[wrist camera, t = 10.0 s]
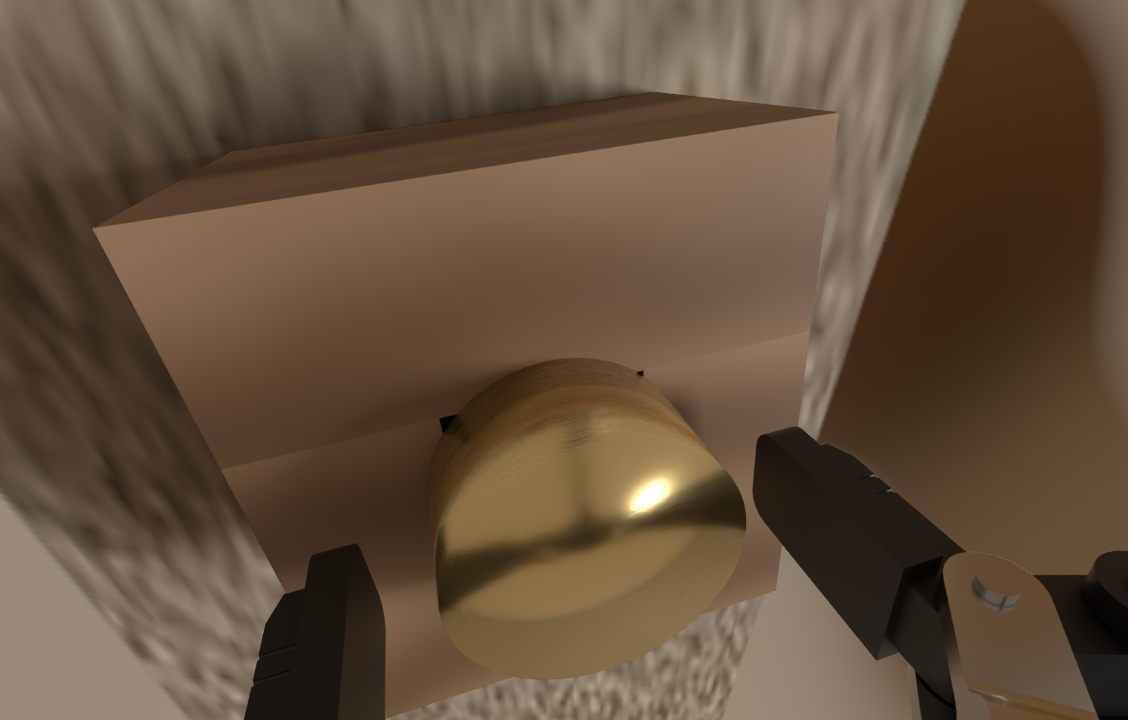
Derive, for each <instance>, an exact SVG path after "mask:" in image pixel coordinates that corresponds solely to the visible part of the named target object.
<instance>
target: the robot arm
mask: <svg viewBox="0 0 1128 720" xmlns="http://www.w3.org/2000/svg"><path fill="white" fill-rule="evenodd" d="M874 475H875V474H874V473H873V472H871V471H870V470H869V469H868V468H867V467H866V466H864V465H863V464H862V463H861V462H859V460H857V459H856V458H855V457H854V456H852V455H850V454H848V453H845V452H843V451H841V450H839V449H837V448H835V447H833V446H831V445H829V444H825V445H819V444H818V443H817V442H816V441H815V440H814V439H813V438H812V437H810V436H809V435H808V434H807V433H806V432H805V431H804V430H802V429H801V428H799V427H796V426H793V427H789V428H785V429H782V430H778V431H774V432H770V433H767V434H763V435H761V436H759V438H758V440H757V444H756V454H755V465H754V476H753V487H752V494H753V500H754V504H755V507H756V509H757V511H758V513H759V515H760V517H761V519H762V520H763V521H764V523H765V524H766V525H767V526H768V528H769V529H770V530H771V531H772V532H773V534H774V535H775V536H776V537H777V539H778V540H779V541H780V542H781V544H782V545H783V546H784V547H785V548H786V550H787V551H788V552H789V553H790V555H791V556H792V557H793V558H794V560H795V561H796V562H797V563H798V564H799V566H800V567H801V568H802V569H803V571H804V572H805V573H806V574H807V575H808V577H809V578H810V579H811V580H812V582H813V583H814V584H815V585H816V587H817V588H818V589H819V590H820V591H821V593H822V594H823V595H824V596H825V598H826V599H827V600H828V601H829V603H830V604H831V605H832V606H833V608H834V609H835V610H836V611H837V612H838V614H839V615H840V616H841V617H842V619H843V620H844V621H845V622H846V624H847V625H848V626H849V627H850V629H851V630H852V631H853V632H854V633H855V635H856V636H857V637H858V638H859V640H860V641H861V642H862V643H863V644H864V646H865V647H866V648H867V649H868V651H869V652H870V653H871V654H872V656H873V657H874V658H875V659H876V660H880V659H882V658H885V657H888V656H890V655H893V654H896V653H899V652H900V654H901V655H902V656H903V657H904V658H905V659H906V660H907V662H908V663H909V667H908V672H907V678H908V686H909V694H910V702H911V710H912V718H913V720H1128V551H1112V552H1107V553H1105V554H1102V555H1101V556H1099V557H1098V558H1097V559H1096V561H1095V563H1094V565H1093V566H1092V568H1091V570H1090V572H1089V574H1088V575H1032V574H1031V573H1029V572H1028V571H1026V570H1025V569H1023V568H1022V567H1020V566H1018V565H1016V564H1014V563H1013V562H1010V561H1008V560H1006V559H1004V558H1000V557H998V556H995V555H991V554H987V553H981V552H966V551H965V550H963V549H962V548H961V547H959V546H958V545H957V544H956V543H955V542H954V541H952V540H951V539H950V538H949V537H948V536H947V535H945V534H944V533H943V532H942V531H941V530H940V529H938V528H937V527H936V526H935V525H934V524H933V523H931V522H930V521H929V520H928V519H927V518H925V517H924V516H923V515H922V514H921V513H920V512H918V511H917V510H916V509H915V508H914V507H912V506H911V505H910V504H909V503H908V502H907V501H905V500H904V499H903V498H902V497H901V496H900V495H898V494H897V493H893V492H892V489H891V488H890V487H889V486H888V485H887V484H886V483H884V482H883V481H882V480H880V478H876V477H875V476H874ZM385 662H386V627H385V617H384V611H383V606H382V602H381V599H380V596H379V593H378V591H377V588H376V586H375V583H374V581H373V579H372V576H371V574H370V571H369V569H368V566H367V564H366V561H365V559H364V556H363V554H362V551H361V549H360V547H359V546H358V544H356V543H353V544H350V545H346V546H342V547H339V548H335V549H331V550H327V551H324V552H320V553H316V554H313V555H312V556H311V558H310V561H309V566H308V572H307V578H306V584H305V588H304V589H300V590H297V591H293V592H290V593H286V594H284V595H283V597H282V598H281V600H280V602H279V603H278V605H277V606H276V608H275V610H274V611H273V613H272V614H271V616H270V618H269V619H268V621H267V622H266V624H265V629H264V633H263V638H262V642H261V646H260V651H259V661H257V664H256V669H255V673H254V678H253V683H254V686H253V687H251V691H250V696H249V700H248V705H247V709H246V713H245V718H244V720H385Z"/></svg>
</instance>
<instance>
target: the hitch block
mask: <svg viewBox="0 0 1128 720" xmlns="http://www.w3.org/2000/svg"><path fill="white" fill-rule="evenodd" d="M838 118H839V112H832V111H823V110H814V109H805V108H796V107H786V106H777V105H768V104H759V103H750V102H741V101H732V100H723V99H714V98H705V97H696V96H687V95H678V94H669V93H660V92H655V93H648V94H641V95H634V96H626V97H619V98H612V99H605V100H597V101H590V102H583V103H576V104H569V105H561V106H554V107H547V108H540V109H532V110H525V111H518V112H511V113H503V114H496V115H489V116H482V117H475V118H467V119H460V120H453V121H446V122H438V123H431V124H424V125H417V126H409V127H402V128H395V129H388V130H381V131H373V132H366V133H359V134H352V135H344V136H337V137H330V138H323V139H316V140H308V141H301V142H294V143H287V144H279V145H272V146H265V147H258V148H250V149H243V150H236V151H231V152H230V153H228V154H226V155H224V156H222V157H220V158H219V159H217V160H215V161H213V162H211V163H210V164H208V165H206V166H204V167H202V168H201V169H199V170H197V171H195V172H193V173H192V174H190V175H188V176H186V177H184V178H183V179H181V180H179V181H177V182H175V183H174V184H172V185H170V186H168V187H166V188H164V189H163V190H161V191H159V192H157V193H155V194H154V195H152V196H150V197H148V198H146V199H145V200H143V201H141V202H139V203H137V204H136V205H134V206H132V207H130V208H128V209H127V210H125V211H123V212H121V213H119V214H118V215H116V216H114V217H112V218H110V219H109V220H107V221H105V222H103V223H101V224H99V225H98V226H96V227H94V228H92V229H93V231H94V233H95V234H96V236H97V238H98V240H99V242H100V244H101V246H102V248H103V249H104V251H105V253H106V255H107V257H108V259H109V261H110V263H111V265H112V266H113V268H114V270H115V272H116V274H117V276H118V278H119V280H120V281H121V283H122V285H123V287H124V289H125V291H126V293H127V295H128V297H129V298H130V300H131V302H132V304H133V306H134V308H135V310H136V312H137V313H138V315H139V317H140V319H141V321H142V323H143V325H144V327H145V329H146V330H147V332H148V334H149V336H150V338H151V340H152V342H153V344H154V345H155V347H156V349H157V351H158V353H159V355H160V357H161V359H162V361H163V362H164V364H165V366H166V368H167V370H168V372H169V374H170V376H171V377H172V379H173V381H174V383H175V385H176V387H177V389H178V391H179V393H180V394H181V396H182V398H183V400H184V402H185V404H186V406H187V408H188V409H189V411H190V413H191V415H192V417H193V419H194V421H195V423H196V425H197V426H198V428H199V430H200V432H201V434H202V436H203V438H204V440H205V441H206V443H207V445H208V447H209V449H210V451H211V453H212V455H213V457H214V458H215V460H216V462H217V464H218V466H219V468H220V470H221V472H222V473H223V475H224V477H225V479H226V481H227V483H228V485H229V487H230V489H231V490H232V492H233V494H234V496H235V498H236V500H237V502H238V504H239V505H240V507H241V509H242V511H243V513H244V515H245V517H246V519H247V521H248V522H249V524H250V526H251V528H252V530H253V532H254V534H255V536H256V537H257V539H258V541H259V543H260V545H261V547H262V549H263V551H264V553H265V554H266V556H267V558H268V560H269V562H270V564H271V566H272V568H273V569H274V571H275V573H276V575H277V577H278V579H279V581H280V583H281V585H282V586H283V588H284V590H285V592H286V593H290V592H293V591H297V590H300V589H304V588H305V584H306V578H307V572H308V566H309V561H310V558H311V556H312V555H313V554H316V553H320V552H324V551H327V550H331V549H335V548H339V547H342V546H346V545H350V544H353V543H356V544H358V546H359V547H360V549H361V551H362V554H363V556H364V559H365V561H366V564H367V566H368V569H369V571H370V574H371V576H372V579H373V581H374V583H375V586H376V588H377V591H378V593H379V596H380V599H381V602H382V606H383V611H384V617H385V627H386V662H385V719H386V718H389V717H392V716H395V715H398V714H401V713H404V712H407V711H410V710H413V709H417V708H420V707H423V706H426V705H429V704H432V703H435V702H438V701H441V700H444V699H447V698H450V697H453V696H456V695H459V694H462V693H465V692H468V691H471V690H474V689H477V688H480V687H483V686H486V685H489V684H493V683H496V682H499V681H502V680H505V679H508V678H511V676H507V675H503V674H500V673H497V672H493V671H491V670H489V669H487V668H484V667H482V666H480V665H478V664H477V663H475V662H474V661H472V660H471V659H469V658H468V657H466V656H465V655H464V654H463V653H462V652H461V651H460V650H459V649H458V648H457V647H456V646H455V645H454V643H453V642H452V641H451V639H450V638H449V637H448V635H447V633H446V631H445V628H444V626H443V624H442V621H441V617H440V612H439V608H438V597H437V585H436V574H435V562H434V551H433V539H432V528H431V516H430V505H429V492H428V477H429V470H430V464H431V460H432V457H433V454H434V451H435V448H436V446H437V444H438V442H439V440H440V438H441V436H442V434H443V432H444V431H445V429H446V428H447V426H448V425H449V423H450V422H451V420H452V419H453V418H454V417H455V416H456V415H457V413H458V412H459V411H460V410H461V409H462V408H463V407H464V406H465V405H466V404H467V403H468V402H469V401H470V400H471V399H473V398H474V397H475V396H476V395H477V394H478V393H480V392H481V391H483V390H484V389H485V388H487V387H488V386H490V385H491V384H492V383H494V382H496V381H498V380H500V379H502V378H503V377H505V376H507V375H509V374H511V373H513V372H516V371H518V370H521V369H523V368H526V367H529V366H532V365H536V364H539V363H543V362H547V361H553V360H559V359H568V358H589V359H600V360H605V361H609V362H614V363H617V364H620V365H623V366H625V367H628V368H630V369H632V370H634V371H636V372H638V373H640V374H641V375H643V376H644V377H646V378H647V379H648V380H650V381H651V382H652V383H653V384H654V385H655V386H656V387H657V388H658V389H659V390H660V391H661V392H662V393H663V394H664V396H665V397H666V398H667V399H668V400H669V402H670V403H671V404H672V405H673V407H674V408H675V409H676V410H677V411H678V413H679V414H680V415H681V416H682V418H683V419H684V420H685V421H686V422H687V424H688V425H689V426H690V427H691V428H692V430H693V431H694V432H695V433H696V435H697V436H698V437H699V438H700V439H701V441H702V442H703V443H704V444H705V446H706V447H707V448H708V449H709V450H710V452H711V453H712V454H713V455H714V456H715V458H716V459H717V460H718V461H719V463H720V464H721V465H722V466H723V467H724V469H725V470H726V471H727V472H728V474H729V475H730V476H731V477H732V479H733V480H734V482H735V484H736V485H737V487H738V488H739V490H740V493H741V496H742V498H743V501H744V505H745V511H746V534H745V540H744V545H743V549H742V552H741V555H740V558H739V560H738V562H737V565H736V567H735V569H734V571H733V573H732V575H731V576H730V578H729V580H728V581H727V583H726V585H725V586H724V588H723V589H722V590H721V592H720V593H719V594H718V596H717V597H716V598H715V599H714V601H713V602H712V603H711V604H710V605H709V606H708V607H707V608H706V609H705V610H704V612H703V613H701V614H700V615H702V614H705V613H708V612H711V611H715V610H718V609H721V608H724V607H727V606H730V605H733V604H736V603H739V602H742V601H745V600H748V599H751V598H754V597H757V596H760V595H763V594H766V593H769V592H772V591H775V590H776V584H777V576H778V569H779V561H780V554H781V547H782V544H781V542H780V541H779V540H778V539H777V537H776V536H775V535H774V534H773V532H772V531H771V530H770V529H769V528H768V526H767V525H766V524H765V523H764V521H763V520H762V519H761V517H760V515H759V513H758V511H757V509H756V507H755V504H754V500H753V494H752V487H753V476H754V465H755V454H756V444H757V440H758V438H759V436H761V435H763V434H767V433H770V432H774V431H778V430H782V429H785V428H789V427H793V426H796V427H797V426H798V419H799V411H800V404H801V396H802V389H803V381H804V374H805V366H806V359H807V351H808V344H809V336H810V329H811V321H812V313H813V306H814V298H815V291H816V283H817V276H818V268H819V261H820V253H821V246H822V238H823V231H824V223H825V216H826V208H827V201H828V193H829V186H830V178H831V171H832V163H833V156H834V148H835V141H836V133H837V126H838Z"/></svg>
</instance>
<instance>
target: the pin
mask: <svg viewBox="0 0 1128 720" xmlns="http://www.w3.org/2000/svg"><path fill="white" fill-rule="evenodd" d="M428 492H429V505H430V516H431V528H432V539H433V551H434V562H435V574H436V585H437V597H438V608H439V612H440V617H441V621H442V624H443V626H444V628H445V631H446V633H447V635H448V637H449V638H450V639H451V641H452V642H453V643H454V645H455V646H456V647H457V648H458V649H459V650H460V651H461V652H462V653H463V654H464V655H465V656H466V657H468V658H469V659H471V660H472V661H474V662H475V663H477V664H478V665H480V666H482V667H484V668H487V669H489V670H491V671H493V672H497V673H500V674H503V675H507V676H511V677H517V678H523V679H537V680H548V679H564V678H572V677H578V676H583V675H588V674H593V673H596V672H600V671H603V670H607V669H610V668H613V667H616V666H618V665H621V664H623V663H626V662H629V661H631V660H633V659H635V658H637V657H639V656H641V655H644V654H646V653H647V652H649V651H651V650H653V649H655V648H656V647H658V646H660V645H662V644H663V643H665V642H666V641H668V640H669V639H671V638H672V637H674V636H675V635H677V634H678V633H679V632H680V631H682V630H683V629H684V628H686V627H687V626H688V625H689V624H691V623H692V622H693V621H694V620H695V619H696V618H697V617H698V616H699V615H700V614H701V613H703V612H704V610H705V609H706V608H707V607H708V606H709V605H710V604H711V603H712V602H713V601H714V599H715V598H716V597H717V596H718V594H719V593H720V592H721V590H722V589H723V588H724V586H725V585H726V583H727V581H728V580H729V578H730V576H731V575H732V573H733V571H734V569H735V567H736V565H737V562H738V560H739V558H740V555H741V552H742V549H743V545H744V540H745V534H746V511H745V505H744V501H743V498H742V496H741V493H740V490H739V488H738V487H737V485H736V484H735V482H734V480H733V479H732V477H731V476H730V475H729V474H728V472H727V471H726V470H725V469H724V467H723V466H722V465H721V464H720V463H719V461H718V460H717V459H716V458H715V456H714V455H713V454H712V453H711V452H710V450H709V449H708V448H707V447H706V446H705V444H704V443H703V442H702V441H701V439H700V438H699V437H698V436H697V435H696V433H695V432H694V431H693V430H692V428H691V427H690V426H689V425H688V424H687V422H686V421H685V420H684V419H683V418H682V416H681V415H680V414H679V413H678V411H677V410H676V409H675V408H674V407H673V405H672V404H671V403H670V402H669V400H668V399H667V398H666V397H665V396H664V394H663V393H662V392H661V391H660V390H659V389H658V388H657V387H656V386H655V385H654V384H653V383H652V382H651V381H650V380H648V379H647V378H646V377H644V376H643V375H641V374H640V373H638V372H636V371H634V370H632V369H630V368H628V367H625V366H623V365H620V364H617V363H614V362H609V361H605V360H600V359H589V358H568V359H559V360H553V361H547V362H543V363H539V364H536V365H532V366H529V367H526V368H523V369H521V370H518V371H516V372H513V373H511V374H509V375H507V376H505V377H503V378H502V379H500V380H498V381H496V382H494V383H492V384H491V385H490V386H488V387H487V388H485V389H484V390H483V391H481V392H480V393H478V394H477V395H476V396H475V397H474V398H473V399H471V400H470V401H469V402H468V403H467V404H466V405H465V406H464V407H463V408H462V409H461V410H460V411H459V412H458V413H457V415H456V416H455V417H454V418H453V419H452V420H451V422H450V423H449V425H448V426H447V428H446V429H445V431H444V432H443V434H442V436H441V438H440V440H439V442H438V444H437V446H436V448H435V451H434V454H433V457H432V460H431V464H430V470H429V477H428Z"/></svg>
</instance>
